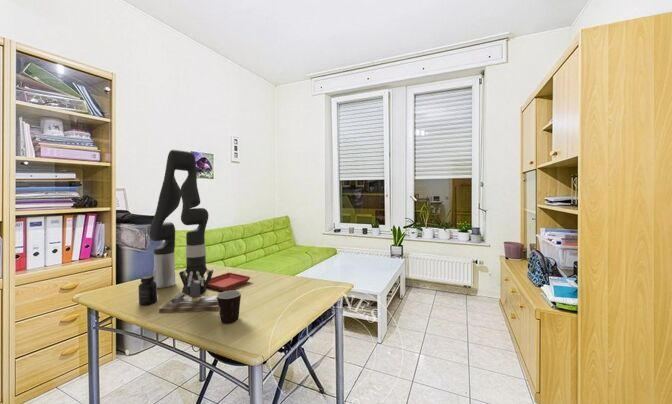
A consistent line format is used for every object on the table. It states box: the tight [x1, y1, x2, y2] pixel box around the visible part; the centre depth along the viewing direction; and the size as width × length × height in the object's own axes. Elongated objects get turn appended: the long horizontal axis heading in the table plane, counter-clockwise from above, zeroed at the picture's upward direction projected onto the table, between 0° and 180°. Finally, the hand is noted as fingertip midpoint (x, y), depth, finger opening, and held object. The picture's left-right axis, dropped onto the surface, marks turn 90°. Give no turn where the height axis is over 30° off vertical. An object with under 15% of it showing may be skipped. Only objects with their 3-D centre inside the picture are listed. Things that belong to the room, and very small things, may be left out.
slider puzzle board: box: [158, 292, 219, 313], centre depth 124 cm, size 28×13×4 cm, turn 95°
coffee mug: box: [216, 290, 242, 325], centre depth 108 cm, size 12×9×10 cm
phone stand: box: [181, 273, 199, 296], centre depth 141 cm, size 9×6×12 cm, turn 146°
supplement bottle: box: [137, 274, 158, 307], centre depth 126 cm, size 7×7×12 cm
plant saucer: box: [205, 272, 252, 292], centre depth 152 cm, size 18×18×3 cm
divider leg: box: [189, 280, 205, 302], centre depth 124 cm, size 4×7×8 cm, turn 5°
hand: (197, 293), depth 123 cm, fingers closed on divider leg, 4 cm apart
